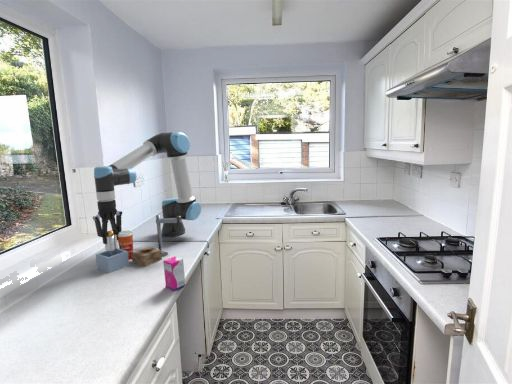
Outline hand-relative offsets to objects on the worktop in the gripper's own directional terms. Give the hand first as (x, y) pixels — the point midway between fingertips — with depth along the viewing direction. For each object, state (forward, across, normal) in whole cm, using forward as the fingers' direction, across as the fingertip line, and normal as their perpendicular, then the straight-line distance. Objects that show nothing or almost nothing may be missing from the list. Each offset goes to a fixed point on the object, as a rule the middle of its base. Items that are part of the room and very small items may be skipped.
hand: (111, 248), depth 140 cm
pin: (+7, 0, 0) cm, 7 cm away
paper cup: (+9, -10, -4) cm, 14 cm away
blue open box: (+9, 0, 0) cm, 9 cm away
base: (+9, -21, +8) cm, 25 cm away
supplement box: (+9, -1, +41) cm, 42 cm away
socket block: (+9, -13, +8) cm, 18 cm away
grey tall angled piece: (+7, -24, +12) cm, 28 cm away
